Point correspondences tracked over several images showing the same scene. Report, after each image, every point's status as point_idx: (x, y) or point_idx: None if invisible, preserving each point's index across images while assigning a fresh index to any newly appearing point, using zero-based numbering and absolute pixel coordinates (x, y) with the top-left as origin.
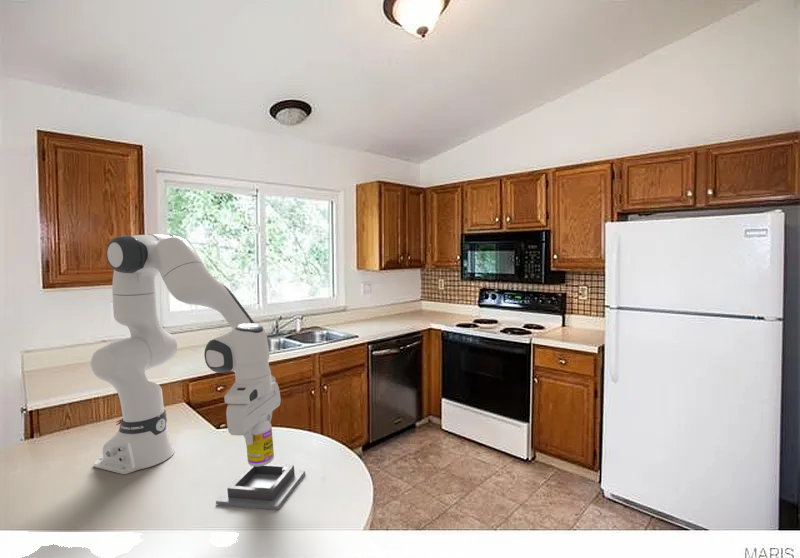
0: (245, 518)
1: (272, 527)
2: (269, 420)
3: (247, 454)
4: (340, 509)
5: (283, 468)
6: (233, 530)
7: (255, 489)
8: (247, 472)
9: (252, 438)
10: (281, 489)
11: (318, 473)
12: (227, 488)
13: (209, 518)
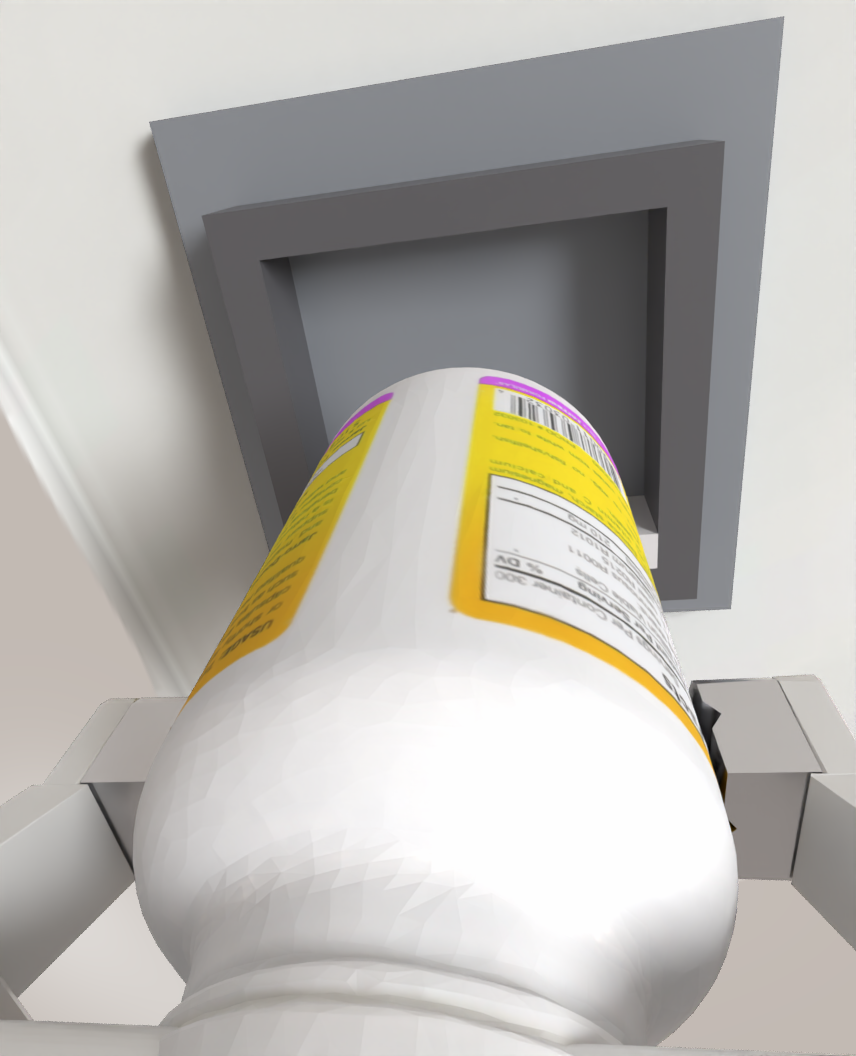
0: (157, 475)
1: (172, 656)
2: (839, 930)
3: (316, 471)
4: None
5: None
6: (46, 475)
7: (284, 493)
8: (504, 225)
9: (128, 859)
10: None
11: (739, 669)
12: (203, 216)
13: (29, 213)
